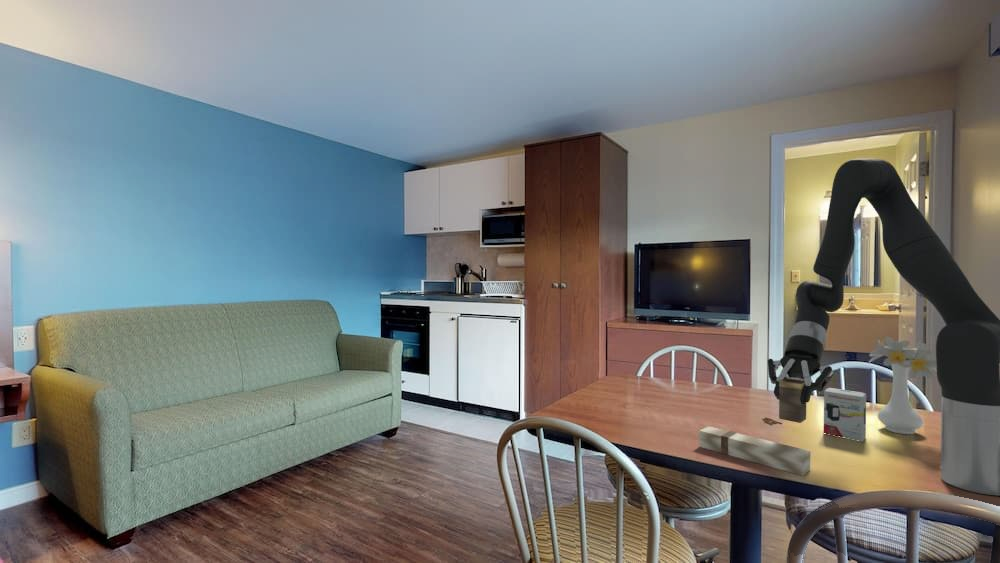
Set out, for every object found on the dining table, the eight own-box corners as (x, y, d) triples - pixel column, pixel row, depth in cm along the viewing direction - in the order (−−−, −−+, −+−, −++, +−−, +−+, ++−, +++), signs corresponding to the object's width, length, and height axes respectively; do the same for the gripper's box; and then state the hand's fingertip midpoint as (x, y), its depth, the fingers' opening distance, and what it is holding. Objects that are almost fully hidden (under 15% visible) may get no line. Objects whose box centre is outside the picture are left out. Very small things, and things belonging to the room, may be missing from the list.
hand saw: (713, 404, 151) (713, 402, 151) (725, 403, 152) (725, 401, 152) (770, 426, 128) (770, 424, 128) (784, 425, 129) (784, 423, 129)
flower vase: (904, 443, 114) (905, 344, 114) (854, 420, 133) (855, 335, 132) (960, 445, 113) (961, 345, 113) (902, 421, 131) (902, 335, 131)
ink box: (822, 434, 121) (822, 390, 121) (826, 429, 124) (826, 387, 124) (863, 442, 115) (863, 396, 115) (866, 437, 118) (866, 392, 118)
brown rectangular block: (806, 419, 107) (806, 381, 107) (800, 423, 104) (800, 384, 104) (785, 414, 111) (785, 378, 110) (778, 418, 108) (779, 380, 107)
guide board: (810, 469, 98) (810, 450, 98) (803, 476, 95) (803, 456, 95) (708, 441, 115) (708, 425, 115) (699, 446, 111) (699, 430, 111)
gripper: (770, 331, 117) (753, 385, 110) (838, 336, 107) (823, 396, 99) (777, 349, 121) (760, 402, 113) (843, 356, 110) (829, 416, 103)
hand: (790, 399), depth 106 cm, fingers closed on brown rectangular block, 4 cm apart
